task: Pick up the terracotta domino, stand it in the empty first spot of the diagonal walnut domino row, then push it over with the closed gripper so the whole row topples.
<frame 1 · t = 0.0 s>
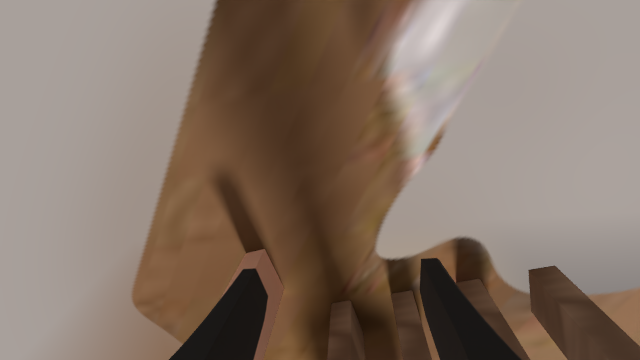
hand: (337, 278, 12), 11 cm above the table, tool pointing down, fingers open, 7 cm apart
walnut domino 4: (471, 300, 24), on the table
walnut domino 3: (406, 310, 26), on the table
terracotta domino: (265, 271, 26), on the table
walnut domino 2: (347, 319, 27), on the table
walnut domino 5: (542, 289, 23), on the table
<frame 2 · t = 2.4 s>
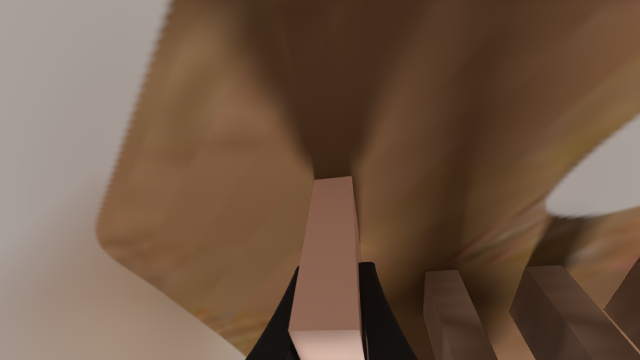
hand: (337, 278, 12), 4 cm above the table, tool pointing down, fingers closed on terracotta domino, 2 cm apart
walnut domino 4: (637, 286, 17), on the table
walnut domino 3: (533, 290, 18), on the table
terracotta domino: (339, 214, 15), on the table, touching gripper
walnut domino 2: (438, 293, 18), on the table
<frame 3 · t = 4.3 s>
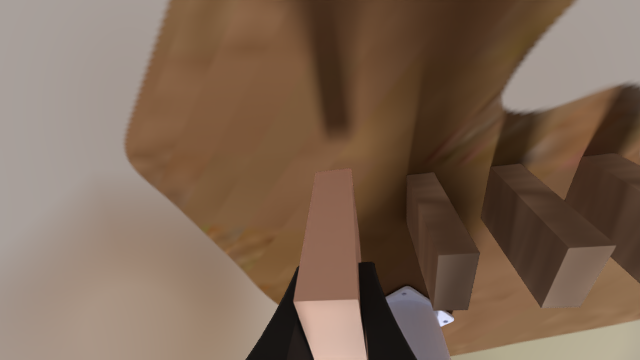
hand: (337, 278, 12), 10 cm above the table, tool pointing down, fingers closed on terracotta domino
walnut domino 4: (585, 184, 20), on the table
walnut domino 3: (499, 192, 21), on the table
terracotta domino: (339, 205, 16), point 5 cm above the table, touching gripper
walnut domino 2: (419, 199, 21), on the table
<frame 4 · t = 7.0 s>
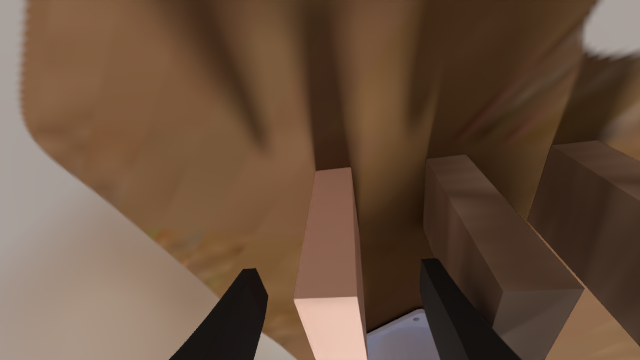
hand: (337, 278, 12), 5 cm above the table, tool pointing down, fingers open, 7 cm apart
walnut domino 3: (558, 184, 14), on the table
terracotta domino: (339, 203, 16), on the table
walnut domino 2: (442, 194, 15), on the table
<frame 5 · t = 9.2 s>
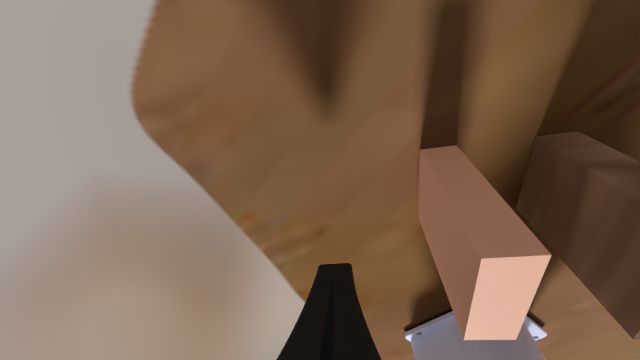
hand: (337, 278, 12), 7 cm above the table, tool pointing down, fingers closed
terracotta domino: (435, 183, 16), on the table
walnut domino 2: (543, 173, 15), on the table
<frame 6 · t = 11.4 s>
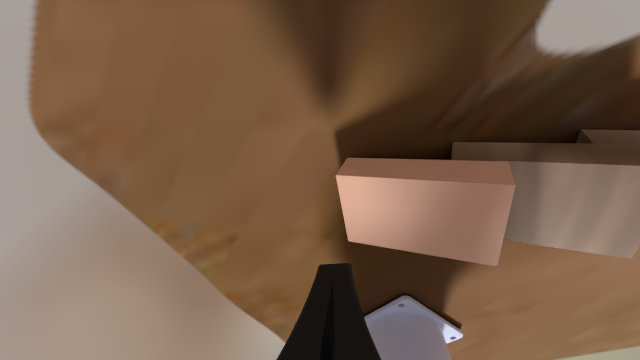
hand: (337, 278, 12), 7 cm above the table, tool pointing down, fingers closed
walnut domino 3: (570, 179, 14), point 1 cm above the table, tilted 70°, touching walnut domino 2, walnut domino 4
terracotta domino: (347, 200, 16), point 1 cm above the table, tilted 71°, touching walnut domino 2
walnut domino 2: (448, 188, 15), point 1 cm above the table, tilted 70°, touching terracotta domino, walnut domino 3
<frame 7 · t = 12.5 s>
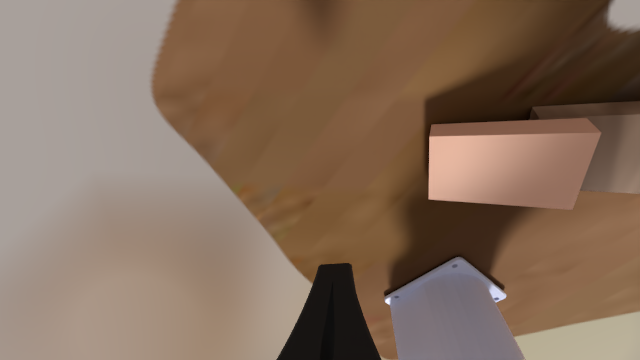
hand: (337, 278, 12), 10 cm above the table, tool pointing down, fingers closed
terracotta domino: (429, 162, 19), point 1 cm above the table, tilted 71°, touching walnut domino 2
walnut domino 2: (526, 148, 17), point 1 cm above the table, tilted 71°, touching terracotta domino, walnut domino 3
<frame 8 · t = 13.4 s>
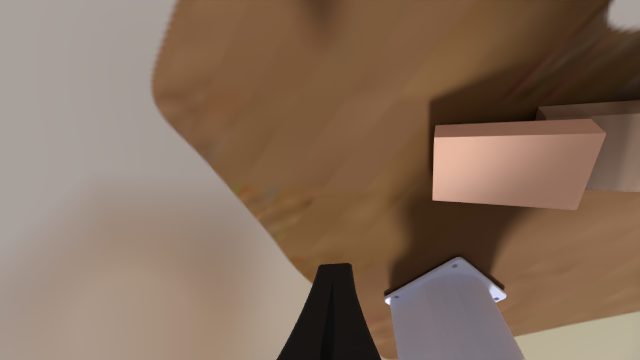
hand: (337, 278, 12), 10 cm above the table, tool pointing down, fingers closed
terracotta domino: (434, 163, 19), point 1 cm above the table, tilted 72°, touching walnut domino 2
walnut domino 2: (533, 148, 17), point 1 cm above the table, tilted 72°, touching terracotta domino
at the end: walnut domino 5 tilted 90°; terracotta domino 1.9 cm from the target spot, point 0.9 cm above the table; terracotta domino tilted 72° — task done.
